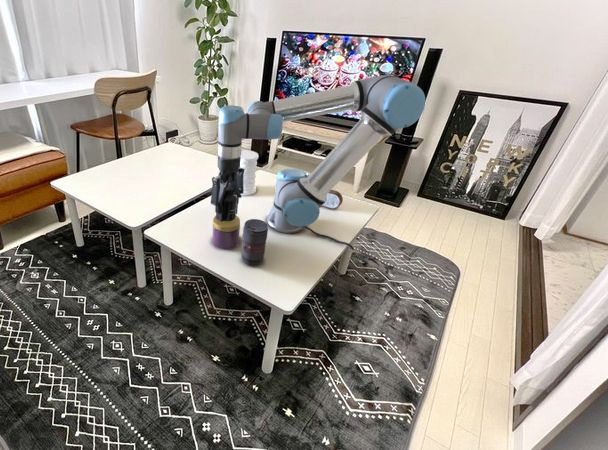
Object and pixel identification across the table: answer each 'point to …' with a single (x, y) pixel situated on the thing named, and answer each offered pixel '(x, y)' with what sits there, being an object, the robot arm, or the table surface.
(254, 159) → the decorative container
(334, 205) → the tin
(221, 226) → the jar lid
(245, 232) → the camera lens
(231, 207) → the supplement bottle
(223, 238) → the jar
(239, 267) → the table surface
